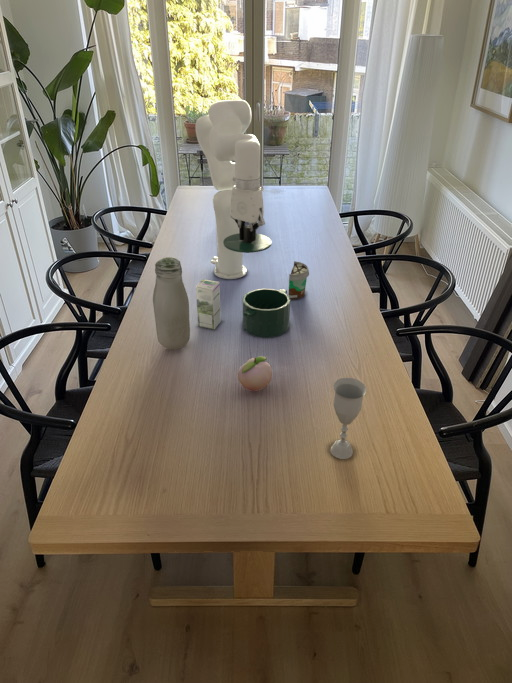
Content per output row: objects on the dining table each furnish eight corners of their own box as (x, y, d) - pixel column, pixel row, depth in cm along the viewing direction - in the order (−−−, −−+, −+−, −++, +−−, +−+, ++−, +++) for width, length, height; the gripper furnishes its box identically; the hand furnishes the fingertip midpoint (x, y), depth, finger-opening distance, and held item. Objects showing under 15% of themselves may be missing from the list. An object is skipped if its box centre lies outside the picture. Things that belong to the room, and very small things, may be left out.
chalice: (323, 440, 120) (330, 378, 110) (352, 439, 121) (361, 376, 111) (330, 463, 114) (337, 399, 104) (360, 461, 114) (370, 398, 105)
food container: (305, 303, 178) (307, 276, 172) (287, 301, 179) (289, 274, 173) (309, 287, 188) (311, 262, 183) (292, 286, 189) (294, 260, 184)
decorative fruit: (259, 404, 131) (260, 372, 126) (233, 393, 135) (232, 362, 129) (278, 385, 138) (279, 354, 132) (252, 375, 141) (252, 345, 136)
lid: (213, 246, 166) (212, 228, 163) (242, 232, 177) (242, 215, 174) (252, 258, 159) (252, 239, 155) (280, 243, 169) (281, 224, 166)
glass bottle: (164, 358, 148) (155, 269, 133) (153, 342, 156) (143, 255, 141) (196, 350, 152) (191, 262, 137) (184, 334, 160) (177, 249, 145)
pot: (228, 331, 161) (227, 304, 156) (265, 307, 175) (265, 281, 170) (266, 346, 154) (267, 319, 149) (301, 319, 168) (303, 293, 163)
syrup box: (221, 321, 167) (220, 280, 159) (214, 330, 162) (212, 288, 154) (205, 318, 168) (203, 278, 160) (197, 327, 164) (195, 285, 156)
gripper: (219, 181, 158) (220, 238, 168) (262, 190, 150) (261, 249, 160) (233, 176, 164) (234, 231, 173) (276, 185, 156) (274, 242, 166)
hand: (247, 239), depth 167 cm, fingers closed on lid, 2 cm apart
